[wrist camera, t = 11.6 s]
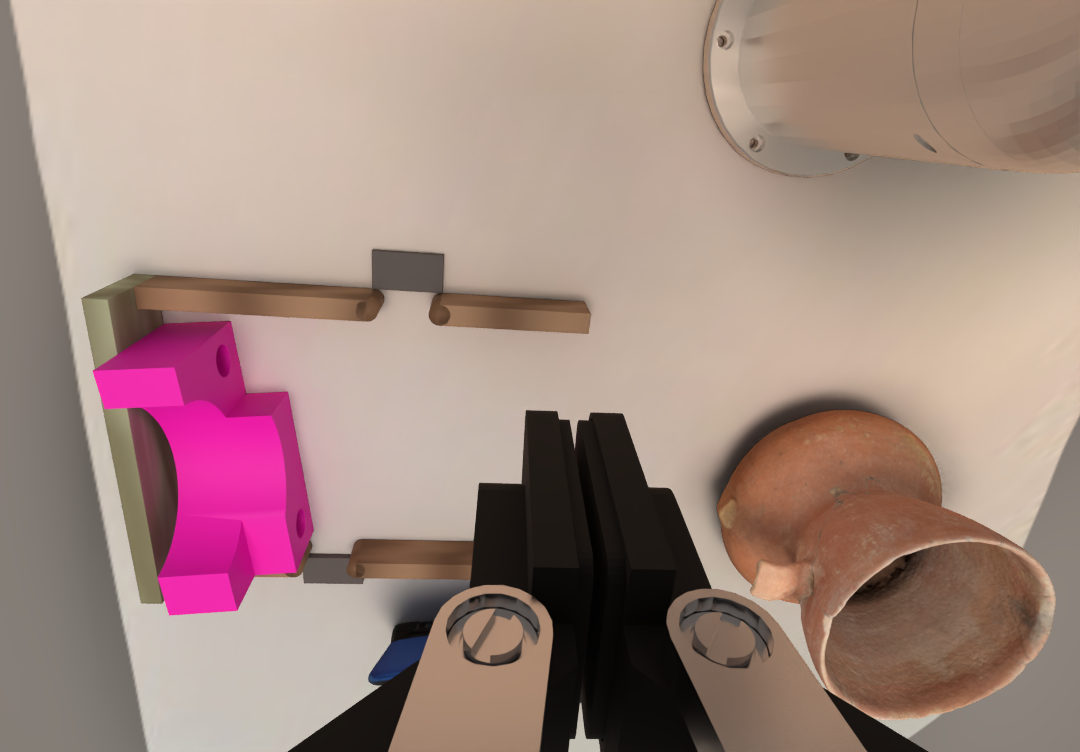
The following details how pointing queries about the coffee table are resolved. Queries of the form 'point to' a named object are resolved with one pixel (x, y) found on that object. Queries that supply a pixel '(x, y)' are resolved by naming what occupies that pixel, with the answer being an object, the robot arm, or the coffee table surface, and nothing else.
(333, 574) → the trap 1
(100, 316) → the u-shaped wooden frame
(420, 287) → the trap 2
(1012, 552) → the ceramic jug
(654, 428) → the coffee table surface
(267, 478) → the toy block
